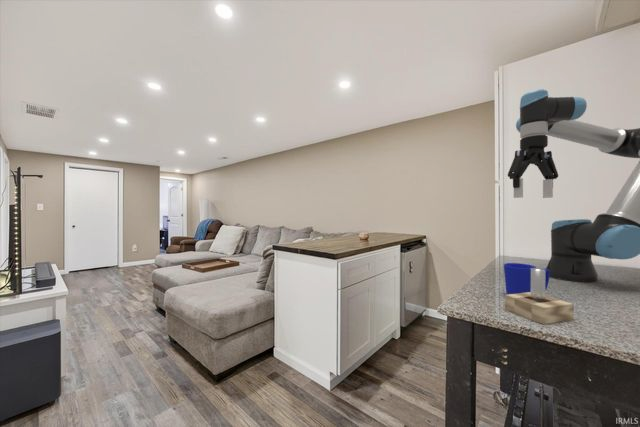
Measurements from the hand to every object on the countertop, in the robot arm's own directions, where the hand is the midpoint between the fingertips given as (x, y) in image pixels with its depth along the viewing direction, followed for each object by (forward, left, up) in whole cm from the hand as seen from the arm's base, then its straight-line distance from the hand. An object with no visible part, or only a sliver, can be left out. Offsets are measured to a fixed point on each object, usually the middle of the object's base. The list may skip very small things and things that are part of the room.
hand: (533, 197), depth 92 cm
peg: (+23, +18, -32) cm, 43 cm away
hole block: (+23, +18, -32) cm, 43 cm away
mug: (+12, +7, -32) cm, 35 cm away
